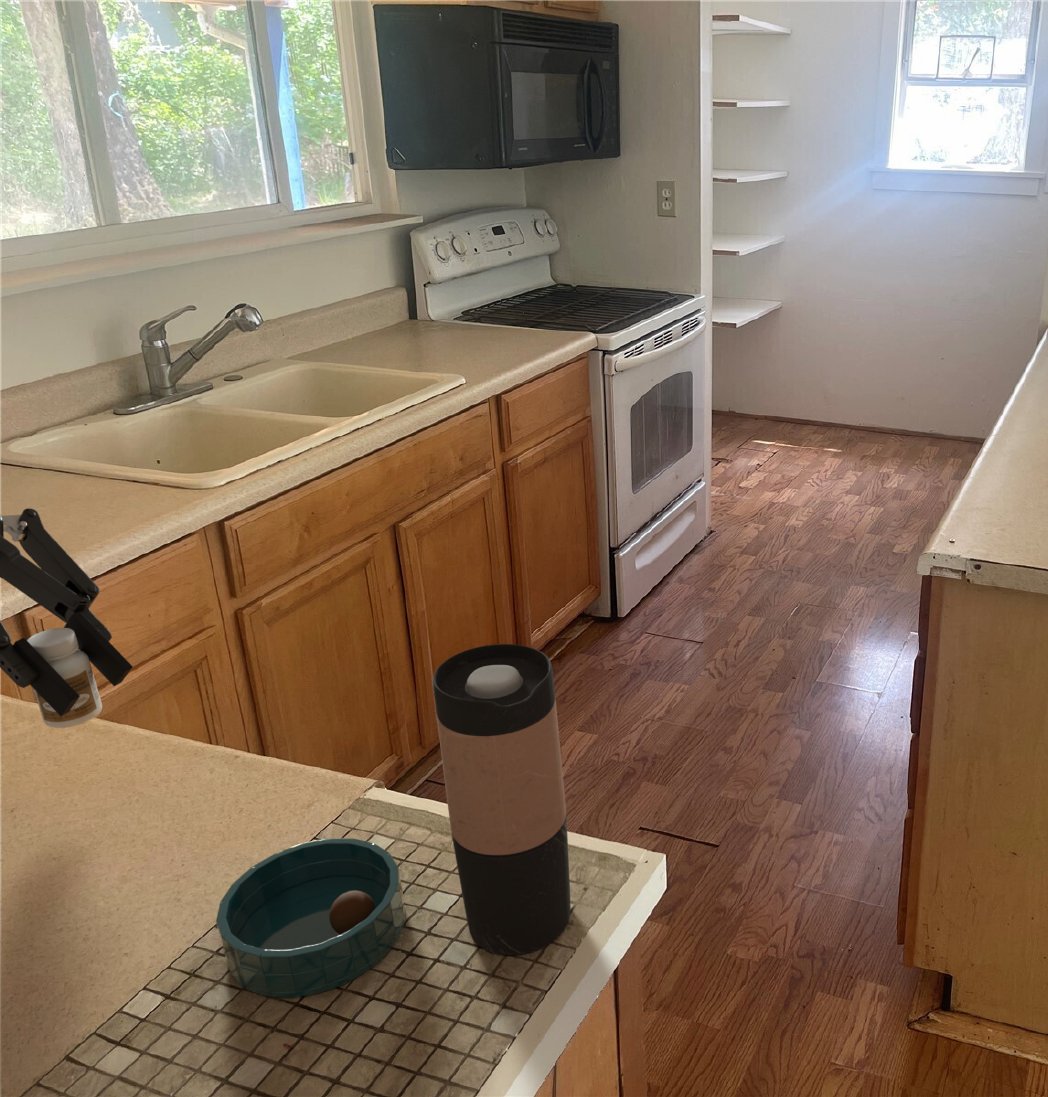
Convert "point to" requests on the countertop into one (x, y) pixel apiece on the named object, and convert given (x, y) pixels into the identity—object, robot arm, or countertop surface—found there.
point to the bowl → (309, 917)
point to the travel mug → (505, 794)
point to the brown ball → (350, 910)
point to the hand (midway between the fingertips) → (97, 690)
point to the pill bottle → (67, 677)
